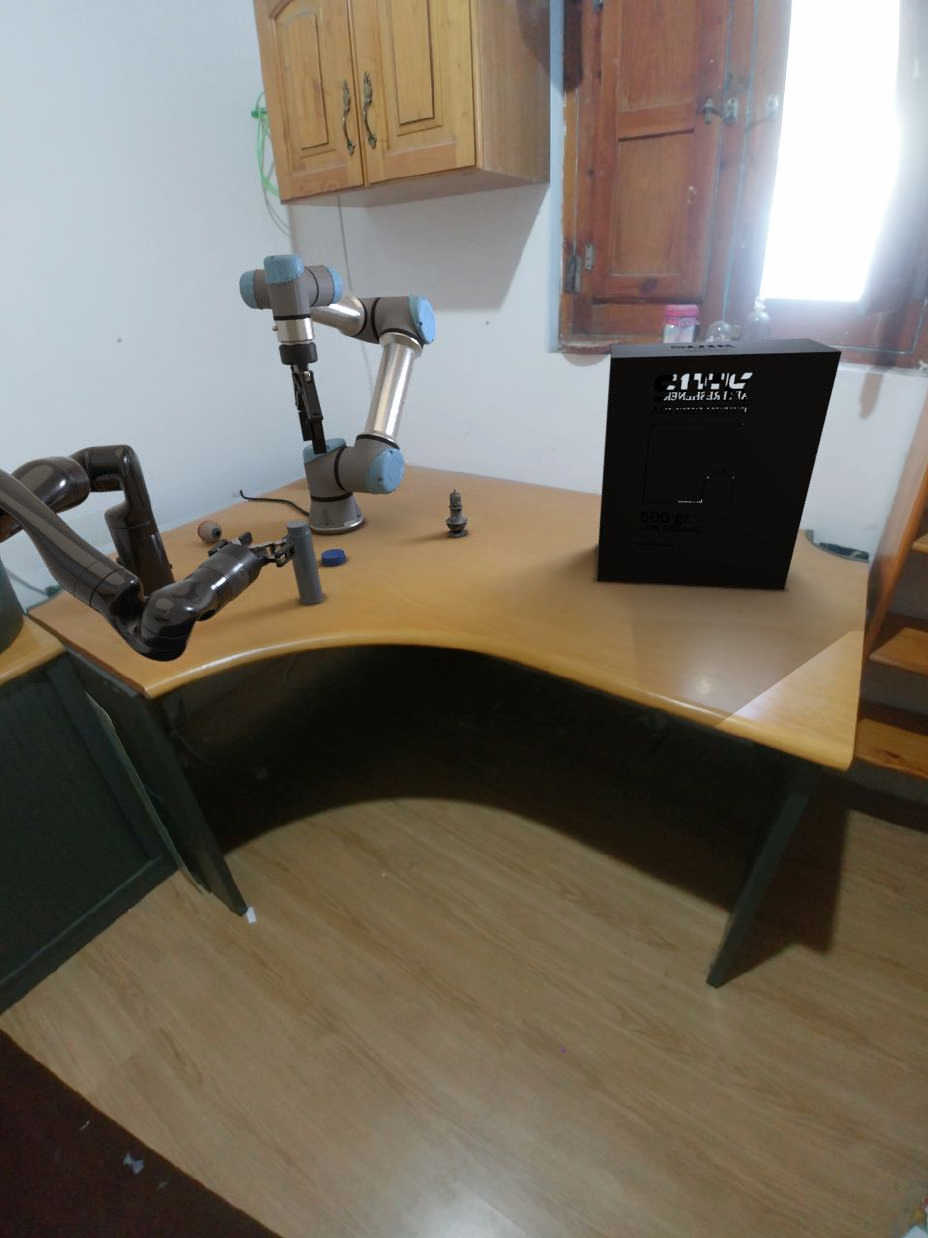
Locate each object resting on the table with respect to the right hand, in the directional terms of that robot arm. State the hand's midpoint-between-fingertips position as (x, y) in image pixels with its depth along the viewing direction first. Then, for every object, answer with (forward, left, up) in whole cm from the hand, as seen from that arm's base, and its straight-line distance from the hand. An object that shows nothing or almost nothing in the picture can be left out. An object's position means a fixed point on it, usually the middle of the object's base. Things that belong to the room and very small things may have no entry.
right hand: (314, 446), depth 134 cm
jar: (+15, -13, -28) cm, 34 cm away
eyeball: (-34, -20, -28) cm, 48 cm away
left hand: (+22, -21, -9) cm, 32 cm away
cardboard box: (+58, +58, -28) cm, 87 cm away
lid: (0, 0, -26) cm, 26 cm away
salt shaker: (+7, +32, -28) cm, 43 cm away
